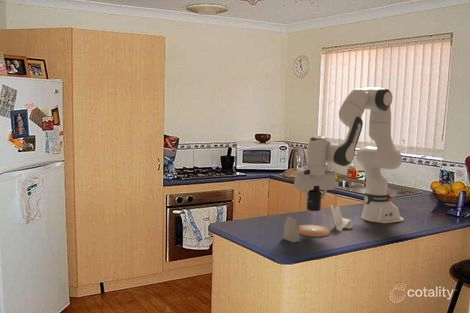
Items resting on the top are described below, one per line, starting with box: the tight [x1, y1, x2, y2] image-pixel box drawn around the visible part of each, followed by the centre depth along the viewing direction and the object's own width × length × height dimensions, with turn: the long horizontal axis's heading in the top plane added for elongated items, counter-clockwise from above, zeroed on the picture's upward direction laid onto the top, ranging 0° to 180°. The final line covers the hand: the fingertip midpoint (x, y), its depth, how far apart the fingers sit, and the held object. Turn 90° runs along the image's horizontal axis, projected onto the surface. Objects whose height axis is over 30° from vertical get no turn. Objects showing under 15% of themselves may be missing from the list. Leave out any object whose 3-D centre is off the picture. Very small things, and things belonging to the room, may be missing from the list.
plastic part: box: [329, 204, 353, 232], centre depth 249 cm, size 8×10×12 cm
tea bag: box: [283, 216, 301, 243], centre depth 226 cm, size 4×7×10 cm, turn 33°
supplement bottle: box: [306, 186, 323, 212], centre depth 238 cm, size 7×7×12 cm
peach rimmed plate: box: [299, 224, 331, 238], centre depth 240 cm, size 16×16×2 cm
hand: (314, 198), depth 238 cm, fingers closed on supplement bottle, 7 cm apart
